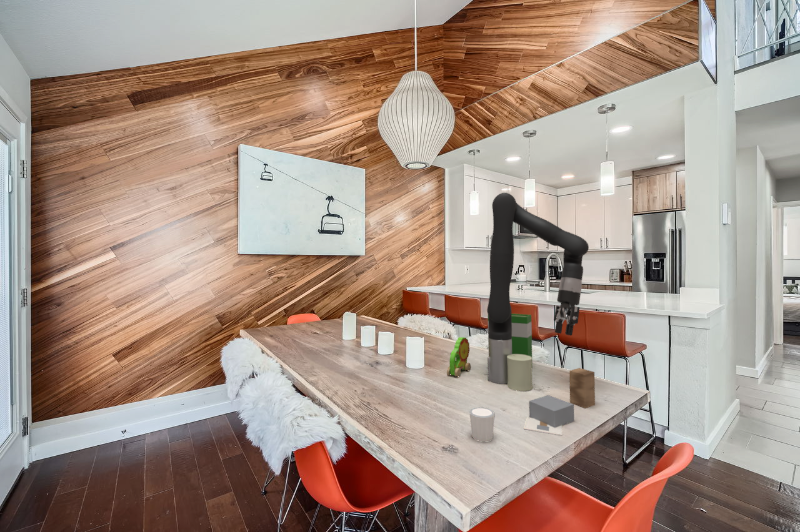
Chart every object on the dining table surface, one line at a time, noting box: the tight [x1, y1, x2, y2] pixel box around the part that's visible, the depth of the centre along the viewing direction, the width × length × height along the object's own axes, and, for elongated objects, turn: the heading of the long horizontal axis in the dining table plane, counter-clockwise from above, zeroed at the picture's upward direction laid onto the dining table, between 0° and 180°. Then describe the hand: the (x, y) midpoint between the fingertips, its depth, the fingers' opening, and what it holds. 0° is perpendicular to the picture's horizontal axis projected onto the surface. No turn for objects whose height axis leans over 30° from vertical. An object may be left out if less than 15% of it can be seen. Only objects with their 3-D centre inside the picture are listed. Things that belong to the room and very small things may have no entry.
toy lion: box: [446, 336, 472, 378], centre depth 155 cm, size 16×5×15 cm, turn 144°
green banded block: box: [487, 313, 533, 358], centre depth 161 cm, size 18×7×24 cm, turn 56°
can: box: [506, 354, 534, 392], centre depth 135 cm, size 9×9×12 cm
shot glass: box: [468, 406, 495, 442], centre depth 98 cm, size 7×7×7 cm
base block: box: [528, 394, 575, 428], centre depth 108 cm, size 9×9×5 cm
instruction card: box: [523, 416, 563, 436], centre depth 103 cm, size 10×8×1 cm
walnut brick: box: [568, 367, 596, 409], centre depth 118 cm, size 5×5×11 cm
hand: (563, 334), depth 130 cm, fingers open, 8 cm apart
